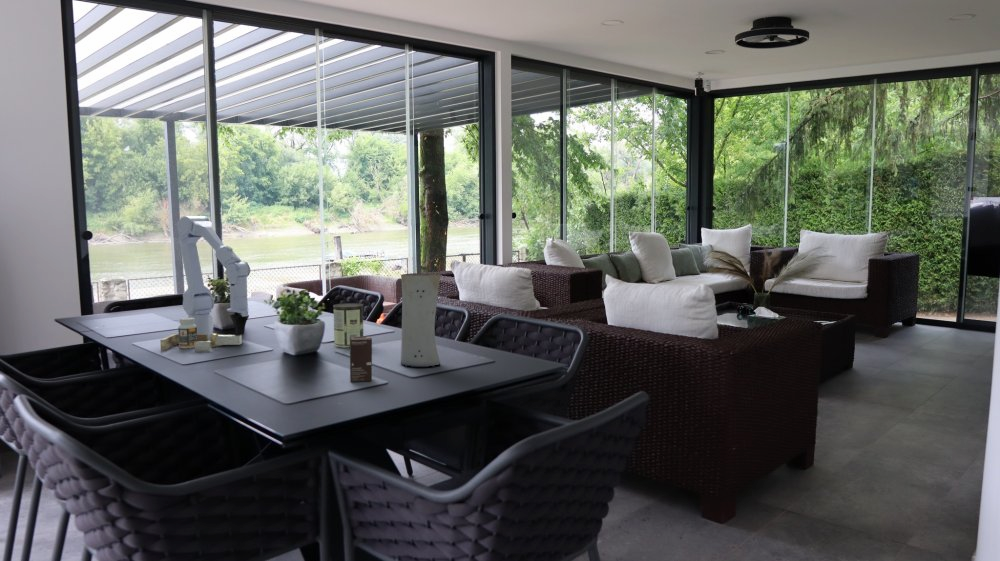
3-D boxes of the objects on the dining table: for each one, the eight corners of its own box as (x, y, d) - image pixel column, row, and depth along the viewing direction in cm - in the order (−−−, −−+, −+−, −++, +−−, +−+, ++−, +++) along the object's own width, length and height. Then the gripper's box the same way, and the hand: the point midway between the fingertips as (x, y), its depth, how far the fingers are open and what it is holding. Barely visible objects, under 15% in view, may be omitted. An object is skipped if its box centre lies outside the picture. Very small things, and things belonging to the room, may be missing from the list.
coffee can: (348, 341, 261) (348, 302, 259) (370, 344, 255) (369, 304, 254) (327, 345, 252) (326, 305, 251) (349, 349, 247) (348, 307, 245)
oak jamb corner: (173, 343, 253) (173, 334, 253) (207, 343, 254) (207, 333, 253) (160, 350, 242) (160, 339, 241) (196, 350, 242) (196, 339, 242)
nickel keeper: (199, 349, 244) (198, 339, 244) (213, 349, 244) (213, 339, 244) (194, 351, 240) (194, 342, 240) (209, 351, 241) (209, 341, 240)
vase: (450, 365, 225) (452, 274, 223) (417, 370, 215) (418, 276, 213) (423, 359, 233) (424, 272, 231) (389, 364, 223) (390, 273, 221)
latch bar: (208, 344, 250) (208, 335, 249) (211, 343, 252) (211, 333, 252) (239, 344, 250) (239, 335, 250) (241, 343, 253) (241, 333, 253)
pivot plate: (209, 344, 253) (209, 343, 253) (223, 344, 254) (223, 343, 254) (205, 346, 249) (205, 346, 249) (218, 346, 249) (218, 346, 249)
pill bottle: (192, 349, 244) (191, 319, 243) (175, 348, 244) (174, 319, 243) (200, 345, 250) (199, 317, 249) (183, 345, 250) (182, 317, 249)
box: (350, 382, 200) (349, 339, 199) (350, 379, 204) (349, 336, 203) (372, 381, 201) (372, 338, 200) (371, 378, 206) (371, 336, 204)
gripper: (221, 294, 259) (222, 332, 261) (232, 299, 248) (234, 338, 249) (241, 293, 263) (242, 330, 265) (253, 297, 252) (255, 336, 253)
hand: (239, 334), depth 257 cm, fingers closed
